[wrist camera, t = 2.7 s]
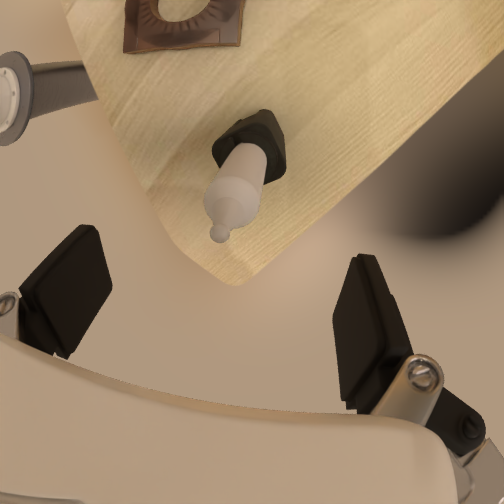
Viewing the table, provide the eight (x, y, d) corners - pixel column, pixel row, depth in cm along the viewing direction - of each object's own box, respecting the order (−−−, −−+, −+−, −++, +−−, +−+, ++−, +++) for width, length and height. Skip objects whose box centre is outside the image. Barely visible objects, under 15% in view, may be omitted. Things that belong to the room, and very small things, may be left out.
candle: (250, 158, 34) (199, 298, 13) (231, 123, 32) (137, 211, 11) (287, 142, 33) (299, 266, 12) (269, 106, 30) (245, 156, 9)
